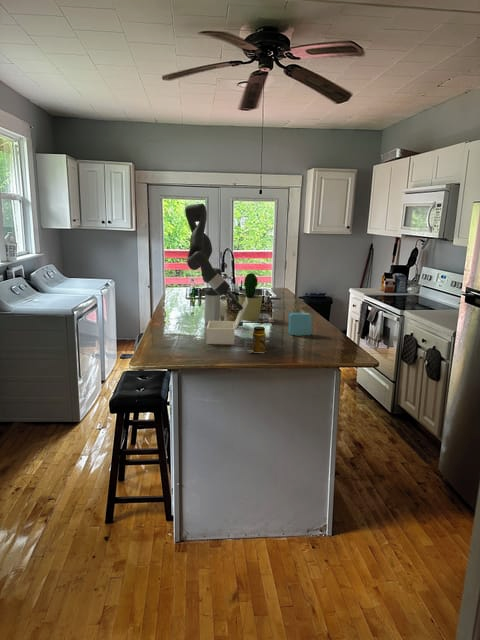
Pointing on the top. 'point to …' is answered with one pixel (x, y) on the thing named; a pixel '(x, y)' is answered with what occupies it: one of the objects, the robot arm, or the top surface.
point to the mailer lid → (241, 313)
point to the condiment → (259, 339)
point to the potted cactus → (251, 299)
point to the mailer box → (220, 332)
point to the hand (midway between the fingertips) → (241, 309)
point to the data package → (300, 324)
